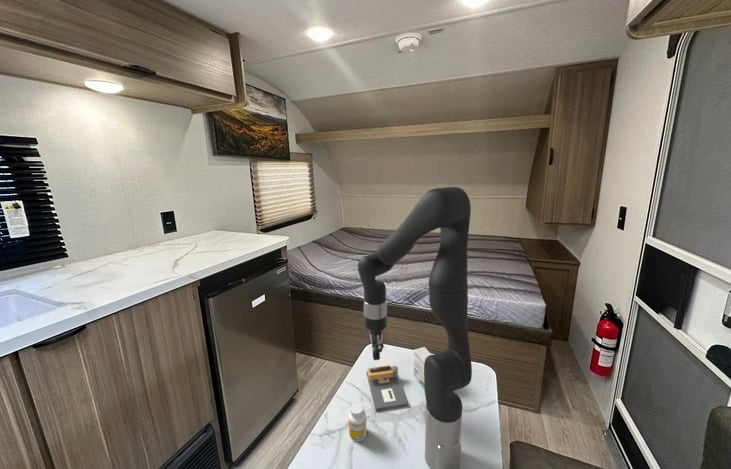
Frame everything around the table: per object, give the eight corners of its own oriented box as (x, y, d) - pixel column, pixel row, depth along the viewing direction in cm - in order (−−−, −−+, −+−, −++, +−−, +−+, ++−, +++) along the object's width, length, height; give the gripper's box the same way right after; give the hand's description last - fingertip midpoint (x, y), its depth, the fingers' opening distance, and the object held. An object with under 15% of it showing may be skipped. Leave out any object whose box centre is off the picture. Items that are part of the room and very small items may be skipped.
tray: (407, 406, 98) (407, 399, 97) (375, 411, 96) (375, 404, 96) (393, 370, 115) (393, 364, 115) (366, 373, 114) (366, 368, 113)
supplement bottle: (355, 423, 92) (354, 398, 90) (370, 431, 89) (369, 405, 87) (345, 436, 88) (344, 410, 85) (360, 445, 85) (359, 418, 83)
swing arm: (399, 375, 108) (399, 368, 107) (369, 380, 106) (369, 372, 105) (396, 368, 112) (396, 361, 111) (367, 372, 110) (367, 365, 109)
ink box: (436, 386, 106) (437, 359, 103) (424, 390, 104) (425, 363, 102) (423, 371, 114) (424, 345, 111) (412, 375, 112) (413, 349, 109)
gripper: (391, 322, 87) (391, 370, 92) (382, 302, 100) (382, 345, 104) (367, 324, 86) (368, 373, 91) (360, 304, 99) (362, 348, 103)
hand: (376, 358), depth 97 cm, fingers closed
